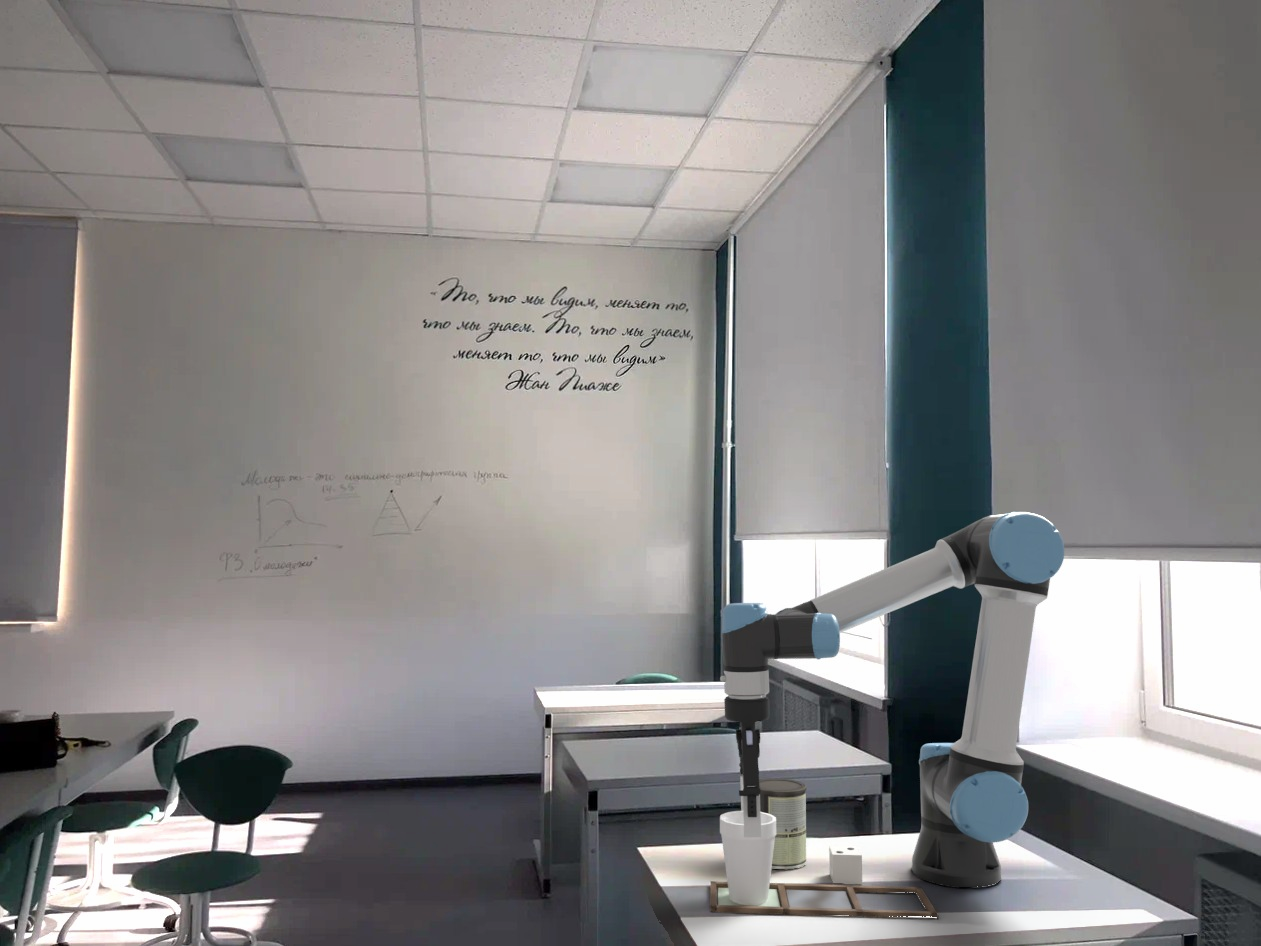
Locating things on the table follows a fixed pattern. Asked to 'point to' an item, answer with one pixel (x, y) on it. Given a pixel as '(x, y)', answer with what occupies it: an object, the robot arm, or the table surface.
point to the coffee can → (786, 820)
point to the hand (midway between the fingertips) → (750, 825)
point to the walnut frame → (815, 900)
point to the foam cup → (747, 858)
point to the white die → (845, 865)
